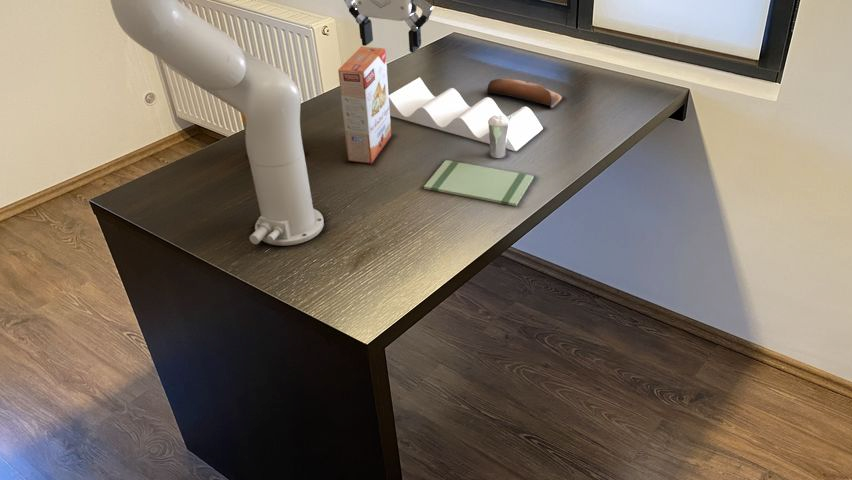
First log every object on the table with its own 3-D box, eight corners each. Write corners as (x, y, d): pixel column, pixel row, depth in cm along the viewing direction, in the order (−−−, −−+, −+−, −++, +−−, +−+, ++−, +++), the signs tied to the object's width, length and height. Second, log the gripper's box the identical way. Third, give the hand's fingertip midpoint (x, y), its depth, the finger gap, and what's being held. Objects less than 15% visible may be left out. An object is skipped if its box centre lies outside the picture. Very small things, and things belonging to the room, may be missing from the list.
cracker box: (373, 165, 161) (364, 71, 149) (347, 162, 162) (335, 69, 150) (393, 136, 172) (386, 47, 159) (368, 133, 173) (359, 44, 160)
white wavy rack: (516, 151, 167) (516, 130, 164) (389, 115, 181) (388, 95, 178) (543, 128, 176) (544, 108, 173) (420, 96, 190) (419, 77, 187)
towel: (516, 206, 149) (516, 203, 148) (423, 188, 154) (423, 186, 153) (533, 177, 158) (533, 175, 157) (445, 162, 163) (445, 159, 162)
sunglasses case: (564, 95, 190) (560, 78, 184) (553, 117, 188) (549, 101, 182) (501, 81, 197) (495, 65, 191) (490, 103, 195) (484, 87, 189)
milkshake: (504, 162, 163) (505, 120, 157) (483, 156, 165) (483, 114, 159) (515, 154, 166) (516, 112, 160) (494, 148, 168) (495, 106, 162)
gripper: (328, -51, 128) (340, 47, 139) (420, -41, 124) (425, 59, 135) (349, -61, 134) (358, 34, 144) (438, -52, 130) (441, 45, 140)
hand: (391, 46), depth 139 cm, fingers open, 9 cm apart
